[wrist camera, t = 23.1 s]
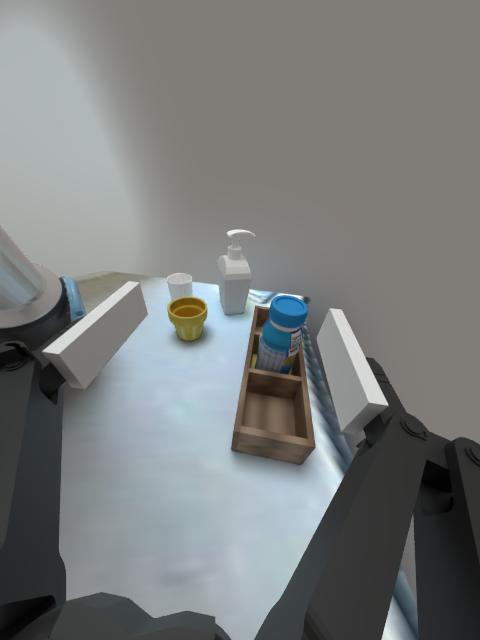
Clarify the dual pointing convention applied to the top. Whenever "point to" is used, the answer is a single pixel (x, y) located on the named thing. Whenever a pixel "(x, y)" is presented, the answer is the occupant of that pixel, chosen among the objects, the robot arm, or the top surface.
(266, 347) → the beverage bottle
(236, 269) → the soap bottle
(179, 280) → the white cup
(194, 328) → the plant pot
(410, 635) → the top surface
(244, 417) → the wooden divided storage box
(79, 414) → the top surface
